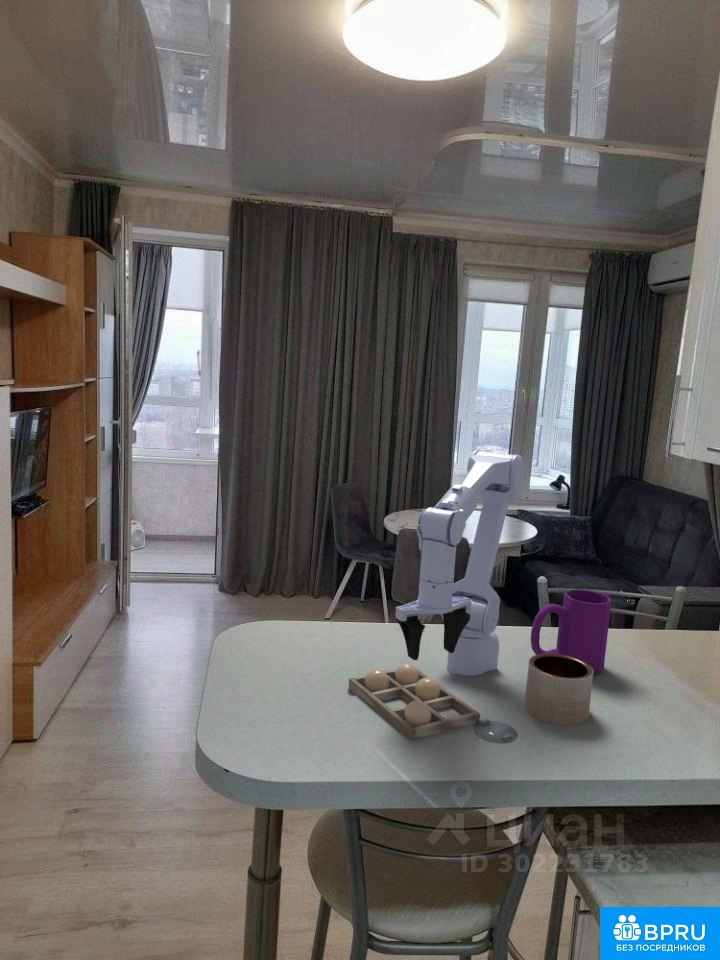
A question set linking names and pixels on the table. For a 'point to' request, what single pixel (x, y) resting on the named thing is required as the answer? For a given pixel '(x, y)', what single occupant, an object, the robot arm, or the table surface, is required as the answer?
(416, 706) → the egg
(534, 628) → the mug
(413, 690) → the carton
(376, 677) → the egg
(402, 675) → the egg
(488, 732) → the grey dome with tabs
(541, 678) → the planter
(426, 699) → the egg loose
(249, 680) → the table surface
